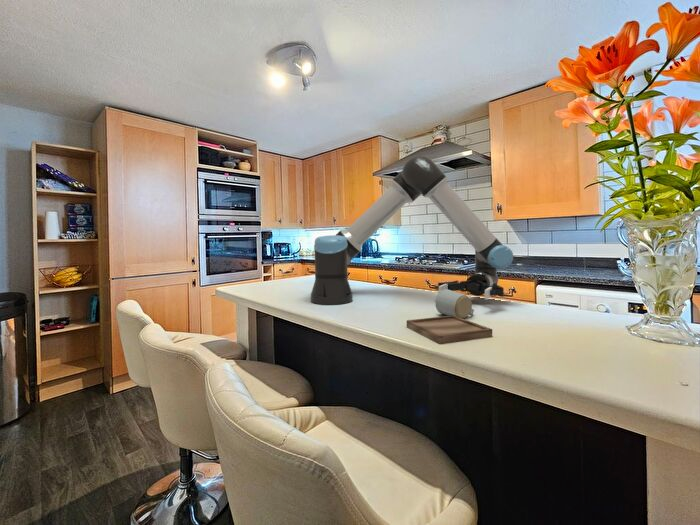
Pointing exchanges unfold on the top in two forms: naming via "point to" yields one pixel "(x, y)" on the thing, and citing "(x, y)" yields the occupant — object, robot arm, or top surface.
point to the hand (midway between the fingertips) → (461, 292)
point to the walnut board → (448, 329)
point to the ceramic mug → (454, 304)
